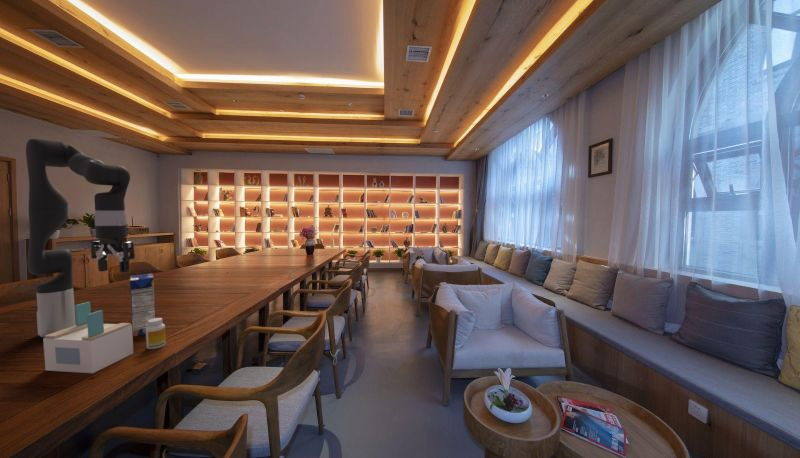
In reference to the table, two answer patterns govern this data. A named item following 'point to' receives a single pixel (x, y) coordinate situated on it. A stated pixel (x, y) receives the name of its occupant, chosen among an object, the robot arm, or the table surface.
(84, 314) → the flap
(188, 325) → the table surface
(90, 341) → the carton
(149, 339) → the supplement bottle
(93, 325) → the flap
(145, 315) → the beverage box
